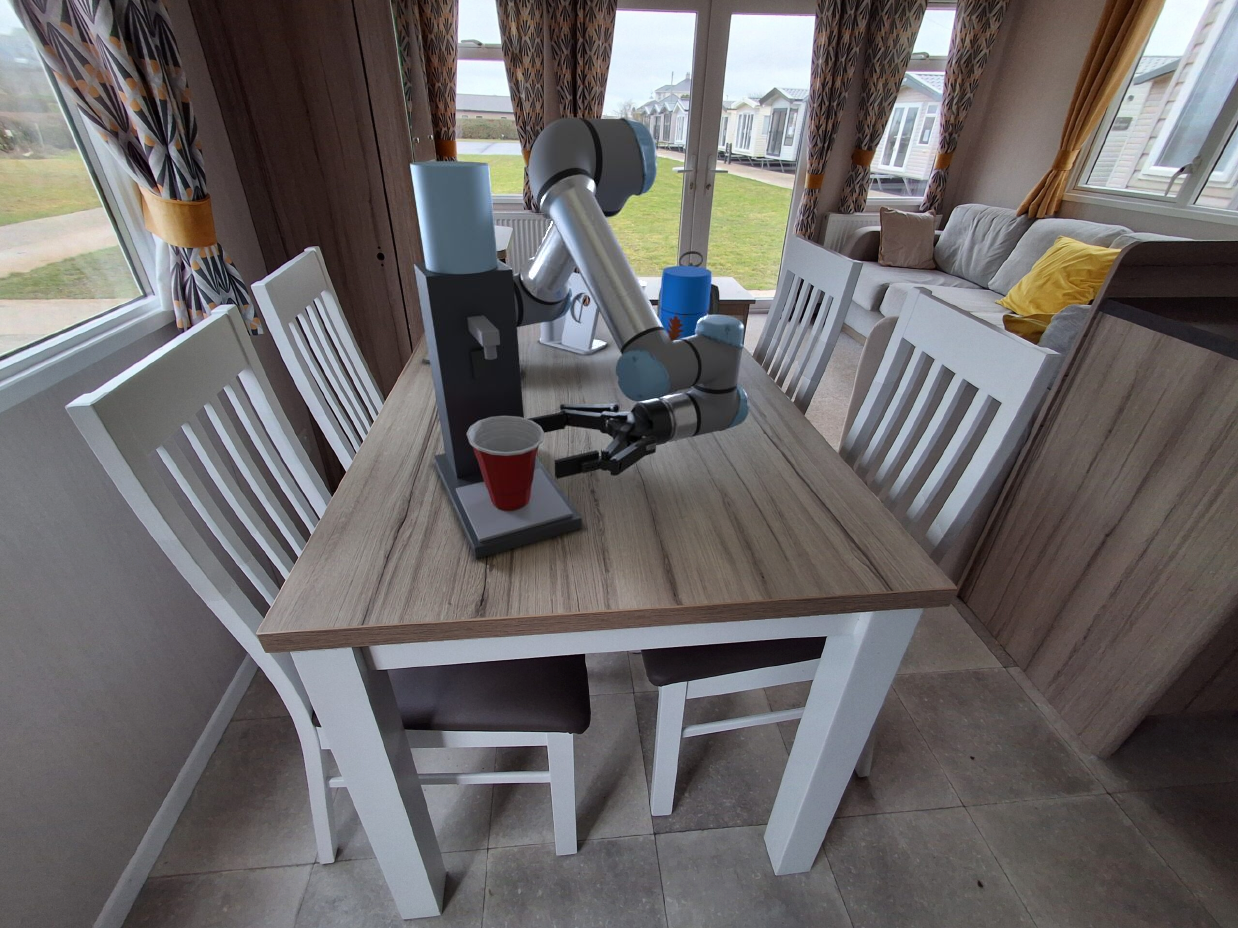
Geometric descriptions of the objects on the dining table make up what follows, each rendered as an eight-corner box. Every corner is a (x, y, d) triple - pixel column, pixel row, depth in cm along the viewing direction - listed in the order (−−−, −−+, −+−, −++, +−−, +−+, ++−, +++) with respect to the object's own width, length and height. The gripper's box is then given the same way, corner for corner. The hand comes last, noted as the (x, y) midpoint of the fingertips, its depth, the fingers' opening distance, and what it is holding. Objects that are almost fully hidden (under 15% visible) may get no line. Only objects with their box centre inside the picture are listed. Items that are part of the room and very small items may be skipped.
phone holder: (536, 341, 154) (532, 274, 145) (560, 332, 161) (557, 268, 152) (586, 355, 146) (585, 285, 136) (608, 345, 153) (609, 277, 144)
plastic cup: (534, 526, 80) (529, 454, 73) (463, 516, 81) (452, 444, 75) (556, 485, 89) (553, 418, 83) (492, 477, 90) (485, 410, 84)
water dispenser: (434, 464, 98) (380, 161, 74) (521, 445, 105) (498, 161, 80) (476, 559, 77) (419, 179, 53) (581, 528, 84) (575, 177, 59)
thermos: (649, 383, 131) (655, 273, 118) (663, 367, 140) (670, 263, 126) (694, 391, 128) (705, 279, 115) (706, 374, 136) (717, 268, 123)
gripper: (702, 477, 84) (572, 513, 75) (626, 410, 103) (515, 433, 94) (708, 433, 80) (570, 465, 71) (627, 372, 99) (511, 392, 90)
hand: (538, 447), depth 83 cm, fingers open, 13 cm apart
